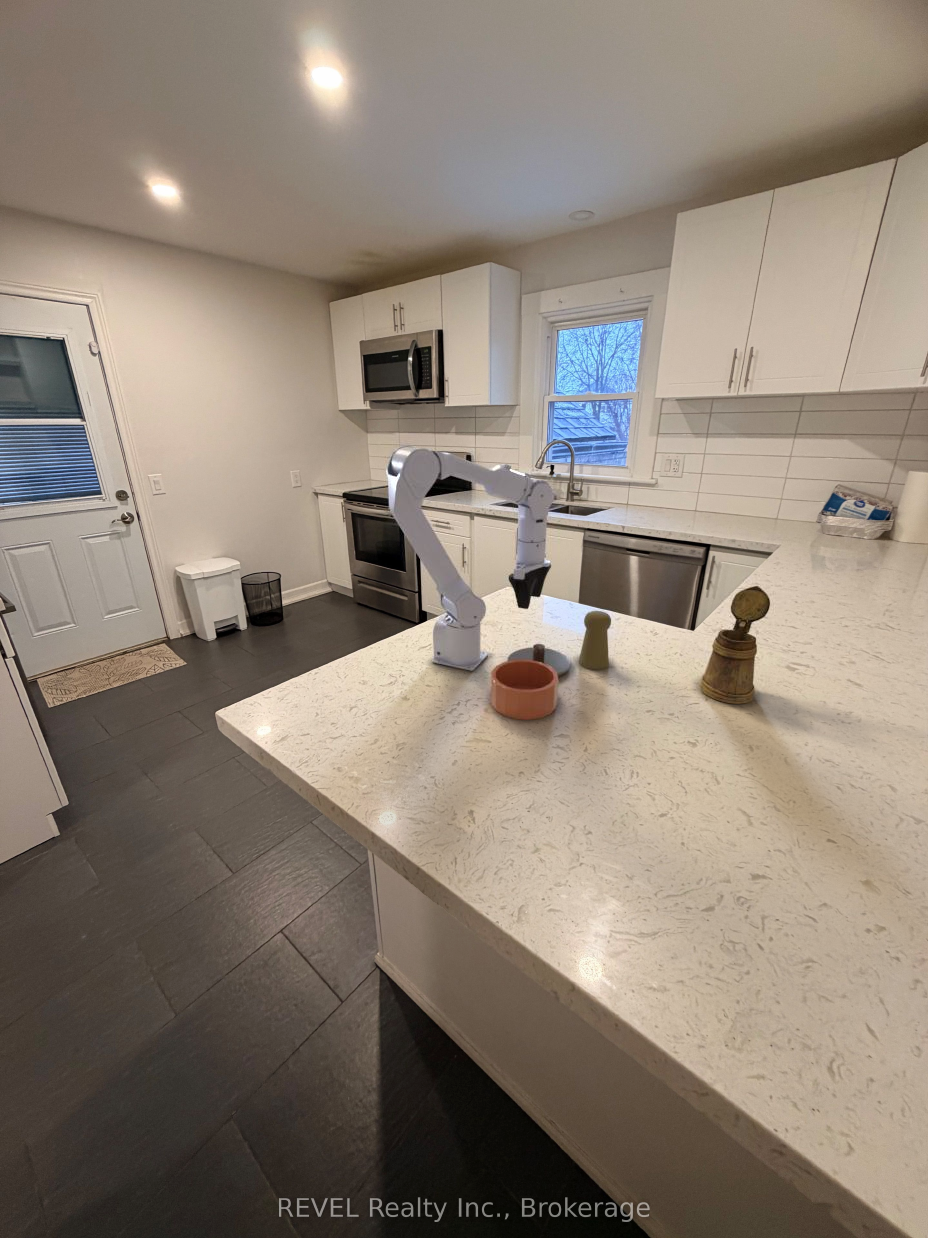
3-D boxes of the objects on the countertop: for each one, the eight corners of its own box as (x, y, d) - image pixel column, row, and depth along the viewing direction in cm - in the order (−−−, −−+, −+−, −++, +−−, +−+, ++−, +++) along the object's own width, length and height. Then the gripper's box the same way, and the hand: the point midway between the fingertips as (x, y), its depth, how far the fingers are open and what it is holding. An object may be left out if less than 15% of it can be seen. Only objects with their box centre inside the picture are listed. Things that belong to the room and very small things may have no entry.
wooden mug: (764, 679, 94) (786, 590, 87) (746, 710, 85) (769, 612, 78) (714, 665, 100) (731, 580, 93) (692, 693, 90) (709, 600, 83)
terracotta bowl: (480, 710, 86) (480, 683, 84) (505, 679, 96) (506, 655, 94) (544, 726, 81) (546, 698, 79) (564, 693, 91) (565, 667, 89)
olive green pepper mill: (609, 670, 98) (615, 619, 94) (578, 668, 100) (582, 617, 95) (607, 657, 104) (613, 608, 100) (578, 654, 105) (582, 606, 101)
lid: (497, 673, 98) (498, 653, 97) (519, 647, 109) (520, 629, 107) (559, 686, 93) (560, 665, 92) (576, 658, 104) (578, 639, 102)
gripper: (539, 549, 93) (536, 616, 98) (560, 533, 105) (557, 593, 110) (504, 546, 96) (503, 611, 101) (529, 530, 108) (527, 589, 113)
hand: (529, 602), depth 106 cm, fingers open, 7 cm apart
